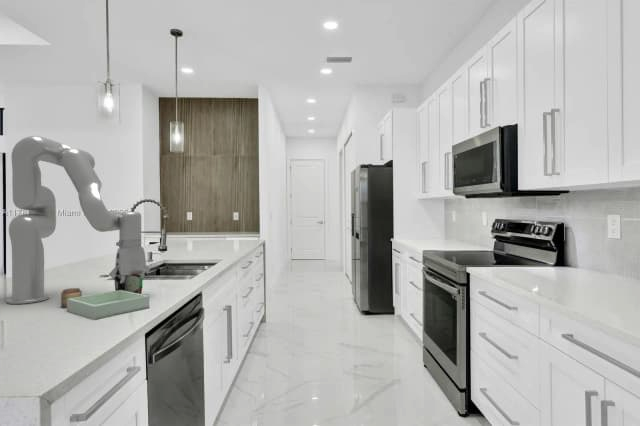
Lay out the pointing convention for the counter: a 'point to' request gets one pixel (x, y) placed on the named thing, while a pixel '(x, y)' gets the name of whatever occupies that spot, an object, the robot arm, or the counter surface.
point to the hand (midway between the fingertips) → (130, 291)
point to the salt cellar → (69, 295)
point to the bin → (107, 304)
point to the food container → (132, 283)
